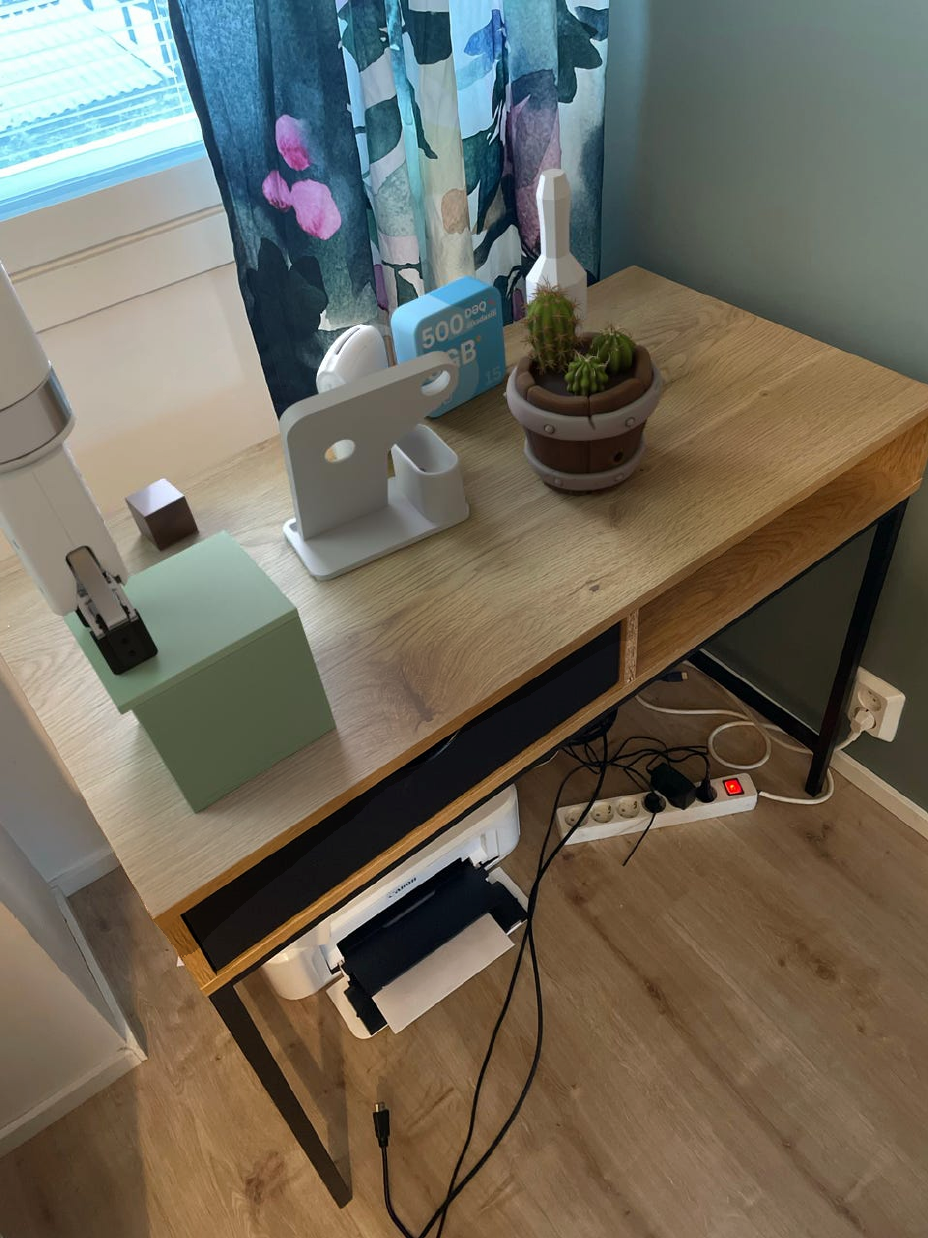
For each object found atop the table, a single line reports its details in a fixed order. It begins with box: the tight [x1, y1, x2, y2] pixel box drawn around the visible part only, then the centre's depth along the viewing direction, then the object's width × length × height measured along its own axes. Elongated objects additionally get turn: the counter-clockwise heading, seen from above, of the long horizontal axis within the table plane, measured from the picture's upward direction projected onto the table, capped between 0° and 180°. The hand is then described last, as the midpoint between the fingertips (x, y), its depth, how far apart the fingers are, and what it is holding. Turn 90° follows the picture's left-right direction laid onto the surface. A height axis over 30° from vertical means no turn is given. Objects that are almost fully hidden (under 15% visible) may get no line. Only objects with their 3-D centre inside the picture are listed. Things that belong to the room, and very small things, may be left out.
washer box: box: [130, 615, 337, 815], centre depth 69 cm, size 13×12×13 cm
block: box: [124, 477, 199, 552], centre depth 91 cm, size 4×4×4 cm
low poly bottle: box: [525, 168, 588, 337], centre depth 99 cm, size 6×6×22 cm
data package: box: [390, 275, 507, 418], centre depth 100 cm, size 12×4×12 cm, turn 129°
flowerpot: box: [503, 275, 666, 496], centre depth 85 cm, size 14×15×20 cm
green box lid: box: [61, 529, 300, 716], centre depth 62 cm, size 13×12×5 cm
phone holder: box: [278, 351, 470, 582], centre depth 83 cm, size 17×10×18 cm, turn 119°
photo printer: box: [315, 323, 390, 460], centre depth 96 cm, size 10×4×12 cm, turn 160°
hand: (119, 637), depth 62 cm, fingers closed on green box lid, 5 cm apart
